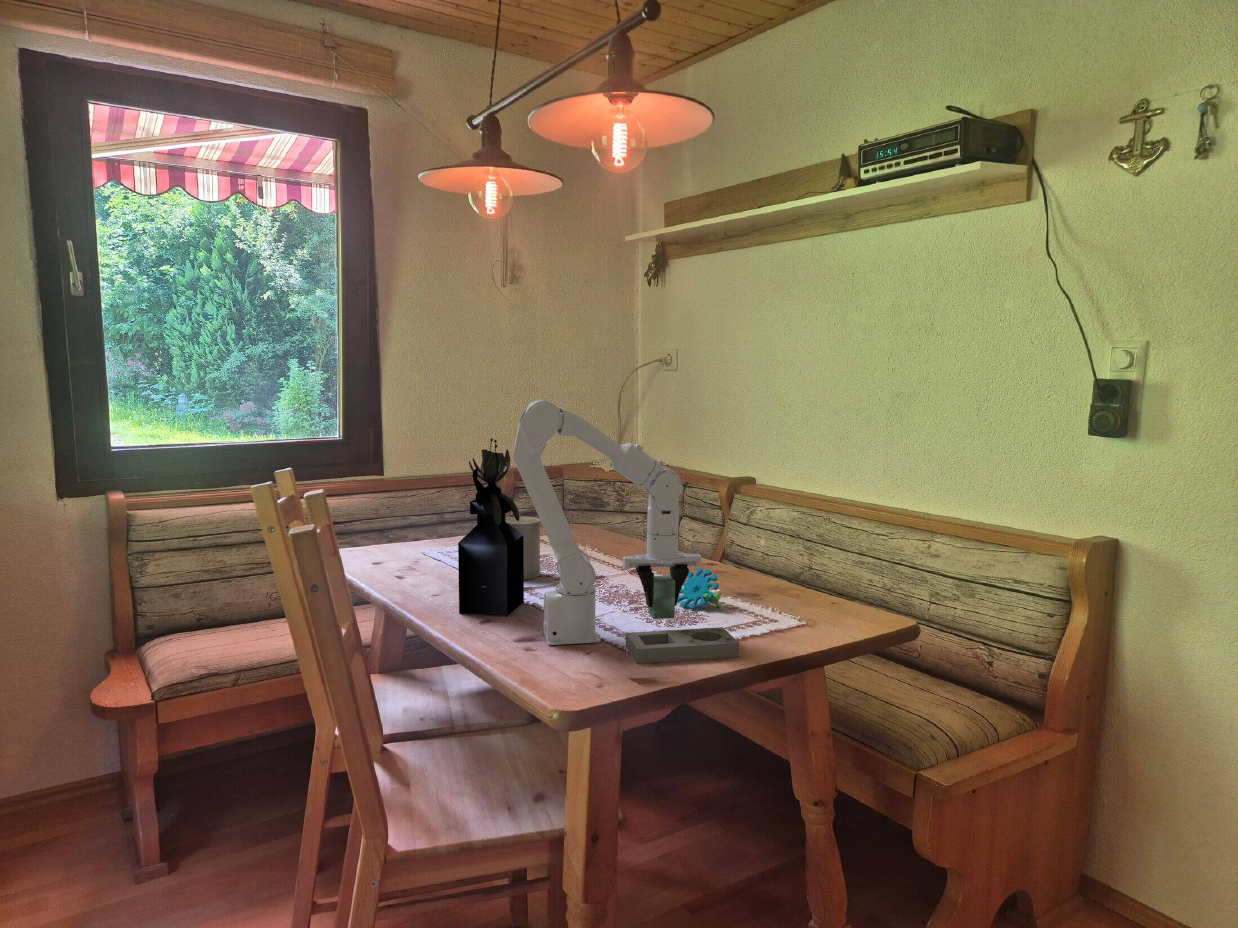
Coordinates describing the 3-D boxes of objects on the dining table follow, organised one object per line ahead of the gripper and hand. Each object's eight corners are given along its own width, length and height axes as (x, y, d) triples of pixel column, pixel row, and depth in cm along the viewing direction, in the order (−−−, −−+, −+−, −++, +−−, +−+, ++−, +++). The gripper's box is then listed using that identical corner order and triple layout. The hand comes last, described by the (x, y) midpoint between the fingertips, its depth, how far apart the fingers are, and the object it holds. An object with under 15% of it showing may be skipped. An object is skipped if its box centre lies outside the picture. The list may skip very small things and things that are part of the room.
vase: (508, 621, 161) (507, 443, 158) (453, 617, 164) (450, 441, 160) (530, 602, 175) (530, 437, 172) (479, 598, 178) (477, 436, 174)
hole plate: (636, 663, 138) (637, 649, 138) (625, 646, 147) (625, 632, 147) (739, 656, 142) (739, 642, 142) (722, 640, 151) (722, 627, 150)
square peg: (653, 618, 151) (654, 581, 151) (648, 612, 155) (648, 576, 154) (674, 617, 152) (675, 580, 151) (668, 611, 156) (669, 575, 155)
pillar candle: (493, 574, 200) (492, 513, 198) (529, 569, 205) (528, 509, 203) (510, 582, 192) (510, 519, 190) (547, 577, 197) (547, 515, 195)
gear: (663, 595, 175) (691, 559, 178) (676, 610, 178) (703, 575, 181) (700, 614, 167) (728, 576, 169) (712, 630, 170) (740, 592, 173)
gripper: (628, 538, 147) (627, 612, 148) (707, 535, 150) (705, 609, 151) (620, 530, 154) (619, 602, 155) (695, 528, 156) (694, 598, 158)
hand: (661, 604), depth 153 cm, fingers closed on square peg, 4 cm apart
